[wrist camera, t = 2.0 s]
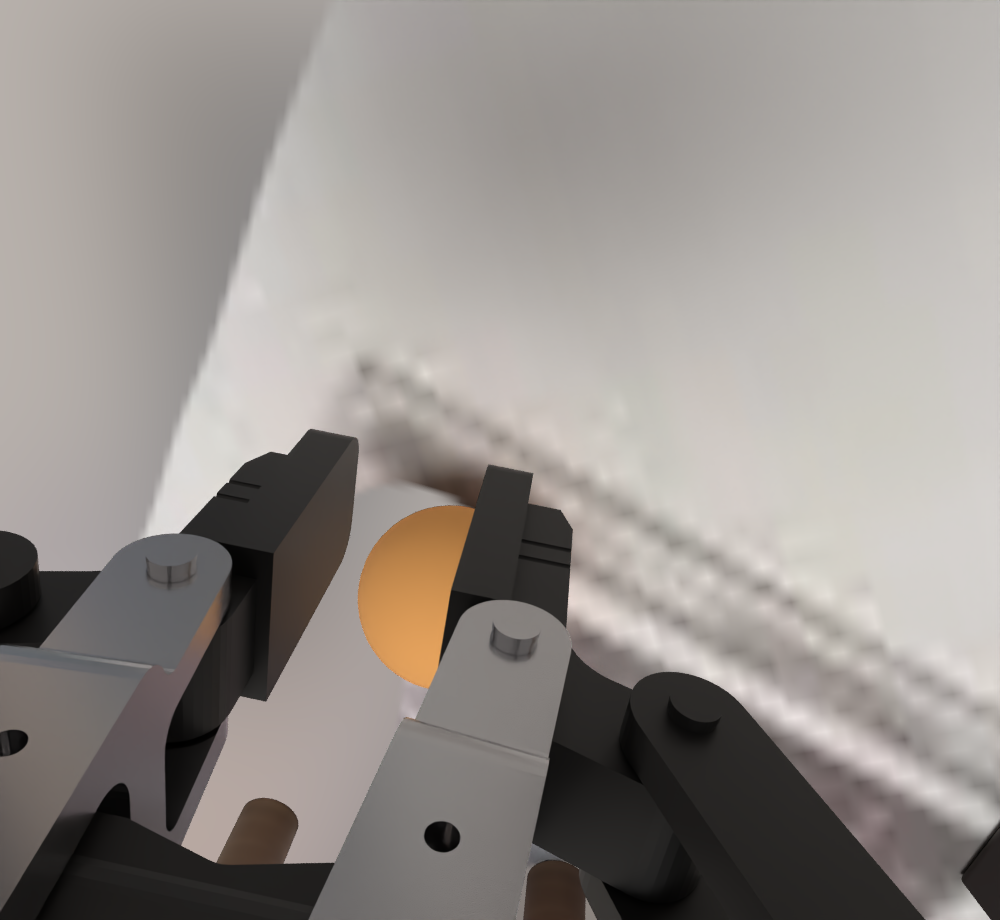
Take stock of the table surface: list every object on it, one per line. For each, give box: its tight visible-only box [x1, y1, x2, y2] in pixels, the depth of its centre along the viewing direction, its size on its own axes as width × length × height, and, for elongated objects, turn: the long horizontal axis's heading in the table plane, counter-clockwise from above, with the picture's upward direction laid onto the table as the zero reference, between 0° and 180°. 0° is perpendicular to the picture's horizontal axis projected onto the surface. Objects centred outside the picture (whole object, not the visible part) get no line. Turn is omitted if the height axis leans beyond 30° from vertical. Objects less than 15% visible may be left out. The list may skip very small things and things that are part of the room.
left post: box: [217, 798, 298, 865], centre depth 33 cm, size 3×3×9 cm
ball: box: [358, 505, 475, 689], centre depth 27 cm, size 6×6×6 cm
